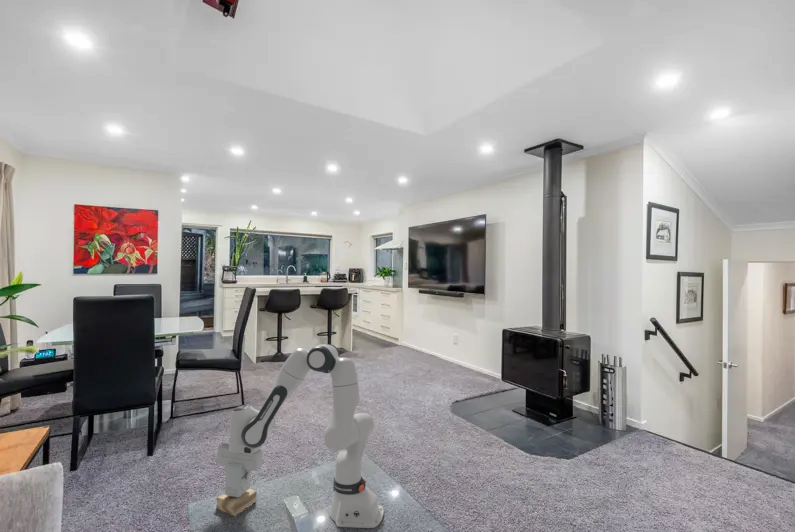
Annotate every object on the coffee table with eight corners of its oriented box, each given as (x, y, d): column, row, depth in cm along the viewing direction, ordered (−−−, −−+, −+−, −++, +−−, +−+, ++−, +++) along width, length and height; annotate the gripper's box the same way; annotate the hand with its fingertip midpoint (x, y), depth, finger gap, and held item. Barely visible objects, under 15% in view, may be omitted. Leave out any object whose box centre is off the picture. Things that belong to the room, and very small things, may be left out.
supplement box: (239, 498, 152) (241, 466, 153) (224, 495, 154) (225, 464, 154) (250, 488, 159) (252, 458, 160) (235, 486, 161) (237, 456, 161)
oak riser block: (256, 503, 159) (256, 491, 159) (234, 517, 149) (235, 504, 149) (238, 496, 163) (238, 484, 164) (216, 509, 154) (217, 496, 154)
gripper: (213, 444, 156) (211, 478, 156) (256, 450, 152) (255, 484, 152) (223, 438, 163) (221, 470, 162) (265, 444, 158) (263, 476, 158)
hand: (238, 477), depth 157 cm, fingers closed on supplement box, 7 cm apart
